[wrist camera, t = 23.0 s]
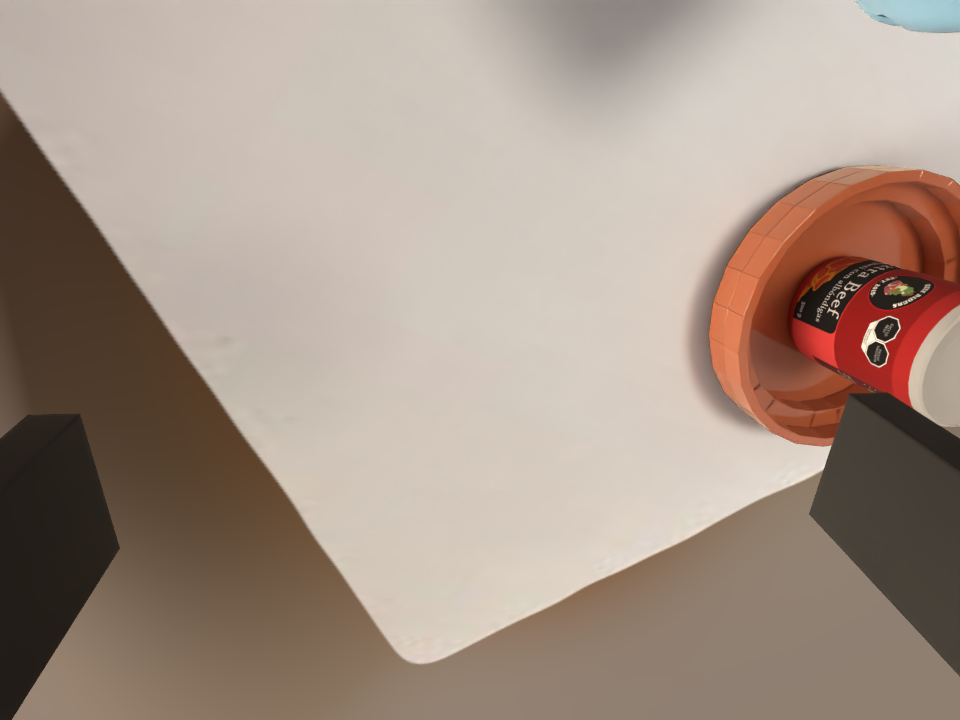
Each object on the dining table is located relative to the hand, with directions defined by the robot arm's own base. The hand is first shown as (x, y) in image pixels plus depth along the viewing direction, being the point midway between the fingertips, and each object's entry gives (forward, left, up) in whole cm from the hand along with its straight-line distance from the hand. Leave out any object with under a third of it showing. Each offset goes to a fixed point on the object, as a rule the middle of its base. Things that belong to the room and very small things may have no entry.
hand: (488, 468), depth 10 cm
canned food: (-9, +31, -26) cm, 42 cm away
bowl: (-9, +31, -26) cm, 42 cm away
